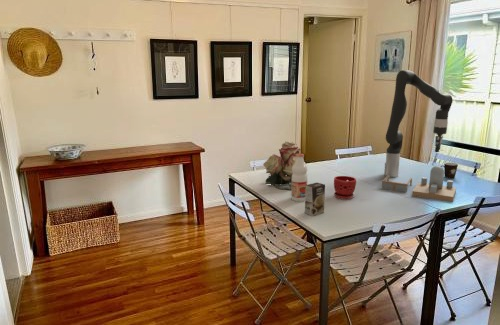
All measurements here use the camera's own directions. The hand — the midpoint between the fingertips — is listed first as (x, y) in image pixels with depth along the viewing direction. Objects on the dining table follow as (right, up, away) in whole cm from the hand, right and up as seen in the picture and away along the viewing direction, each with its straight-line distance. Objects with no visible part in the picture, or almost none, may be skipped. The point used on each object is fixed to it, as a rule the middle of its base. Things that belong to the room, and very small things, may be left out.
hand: (437, 150), depth 236 cm
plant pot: (-63, -29, -11) cm, 70 cm away
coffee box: (-86, -35, -36) cm, 100 cm away
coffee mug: (+20, -18, +26) cm, 38 cm away
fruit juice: (-91, -30, -14) cm, 97 cm away
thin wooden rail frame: (-24, -23, +7) cm, 34 cm away
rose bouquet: (-96, -23, +16) cm, 100 cm away
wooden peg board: (-7, -27, -9) cm, 29 cm away
